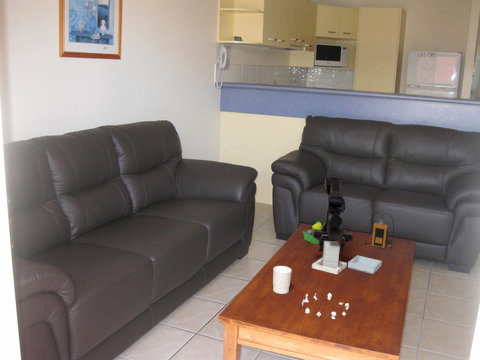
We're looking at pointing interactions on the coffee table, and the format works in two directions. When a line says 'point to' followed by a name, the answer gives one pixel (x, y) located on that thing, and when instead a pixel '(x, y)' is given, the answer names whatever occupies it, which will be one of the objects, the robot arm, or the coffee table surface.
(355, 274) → the coffee table surface
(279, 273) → the white cup
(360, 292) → the coffee table surface
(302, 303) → the game piece set
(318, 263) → the frame
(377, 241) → the multimeter
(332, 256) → the supplement box
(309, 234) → the fruit basket
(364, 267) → the tray
